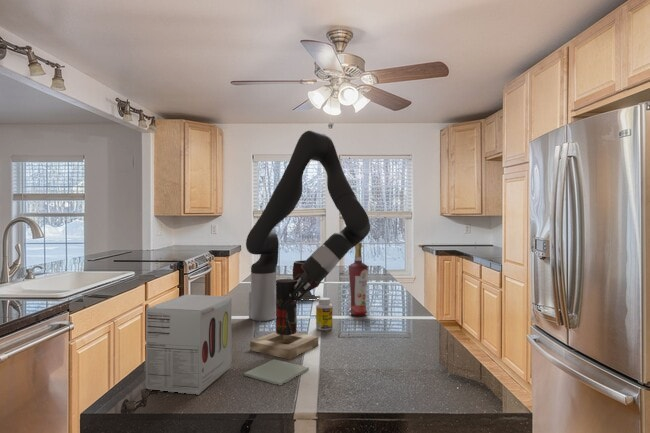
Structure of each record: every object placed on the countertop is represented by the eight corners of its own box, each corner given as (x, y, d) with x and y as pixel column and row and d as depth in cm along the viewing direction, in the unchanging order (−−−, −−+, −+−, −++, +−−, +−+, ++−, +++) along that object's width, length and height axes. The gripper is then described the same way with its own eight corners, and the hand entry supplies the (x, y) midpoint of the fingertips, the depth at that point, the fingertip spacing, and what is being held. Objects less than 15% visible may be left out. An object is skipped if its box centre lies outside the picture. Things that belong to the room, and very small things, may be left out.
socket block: (250, 350, 114) (250, 341, 114) (281, 337, 126) (281, 329, 126) (289, 359, 107) (289, 349, 107) (318, 345, 119) (318, 336, 119)
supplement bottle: (321, 331, 133) (321, 300, 133) (313, 328, 137) (313, 298, 137) (335, 329, 136) (335, 299, 136) (326, 325, 141) (326, 296, 141)
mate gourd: (286, 297, 190) (286, 255, 190) (309, 294, 199) (308, 253, 199) (307, 303, 178) (307, 257, 178) (330, 298, 188) (330, 255, 188)
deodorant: (276, 329, 120) (276, 279, 120) (296, 329, 120) (296, 278, 120) (275, 335, 114) (275, 282, 114) (296, 335, 114) (296, 282, 114)
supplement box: (200, 396, 85) (200, 310, 85) (143, 391, 87) (144, 308, 87) (233, 366, 102) (233, 295, 102) (185, 363, 104) (185, 293, 105)
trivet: (244, 375, 96) (244, 372, 96) (273, 361, 105) (273, 359, 105) (280, 385, 90) (280, 382, 90) (308, 369, 100) (308, 367, 100)
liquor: (358, 318, 150) (358, 243, 151) (344, 315, 156) (344, 242, 156) (371, 315, 155) (371, 242, 155) (358, 312, 161) (357, 241, 161)
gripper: (307, 252, 126) (268, 292, 123) (316, 257, 112) (273, 302, 109) (323, 269, 127) (286, 308, 124) (335, 276, 113) (292, 320, 110)
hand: (280, 305), depth 117 cm, fingers closed on deodorant, 6 cm apart
